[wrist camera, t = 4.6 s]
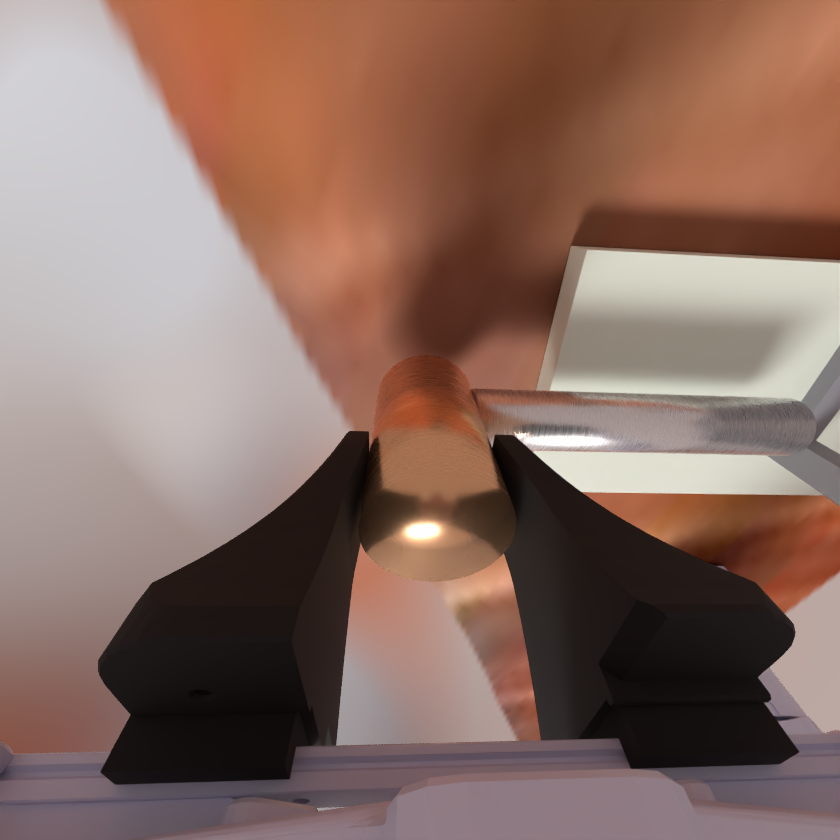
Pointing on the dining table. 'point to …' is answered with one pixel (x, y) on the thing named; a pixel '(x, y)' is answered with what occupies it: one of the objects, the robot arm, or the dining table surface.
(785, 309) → the eye stand
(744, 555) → the dining table surface
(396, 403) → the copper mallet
